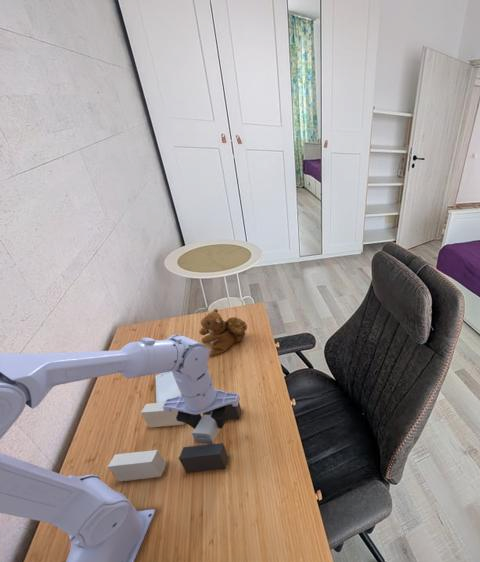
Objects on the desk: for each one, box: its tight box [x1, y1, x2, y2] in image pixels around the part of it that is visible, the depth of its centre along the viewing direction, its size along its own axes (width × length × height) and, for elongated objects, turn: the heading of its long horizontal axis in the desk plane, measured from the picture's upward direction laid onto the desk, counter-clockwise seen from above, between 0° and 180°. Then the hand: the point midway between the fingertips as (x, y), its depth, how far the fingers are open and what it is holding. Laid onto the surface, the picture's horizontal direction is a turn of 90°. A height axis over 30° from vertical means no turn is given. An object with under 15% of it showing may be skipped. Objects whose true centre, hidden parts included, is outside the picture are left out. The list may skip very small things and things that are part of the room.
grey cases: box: [178, 402, 242, 474], centre depth 67 cm, size 14×8×6 cm, turn 9°
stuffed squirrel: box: [198, 308, 248, 357], centre depth 93 cm, size 10×14×13 cm
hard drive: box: [154, 371, 182, 403], centre depth 79 cm, size 2×8×12 cm
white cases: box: [107, 402, 186, 482], centre depth 65 cm, size 14×8×6 cm, turn 9°
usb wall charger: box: [191, 411, 221, 445], centre depth 65 cm, size 4×7×4 cm, turn 178°
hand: (211, 425), depth 65 cm, fingers closed on usb wall charger, 4 cm apart
